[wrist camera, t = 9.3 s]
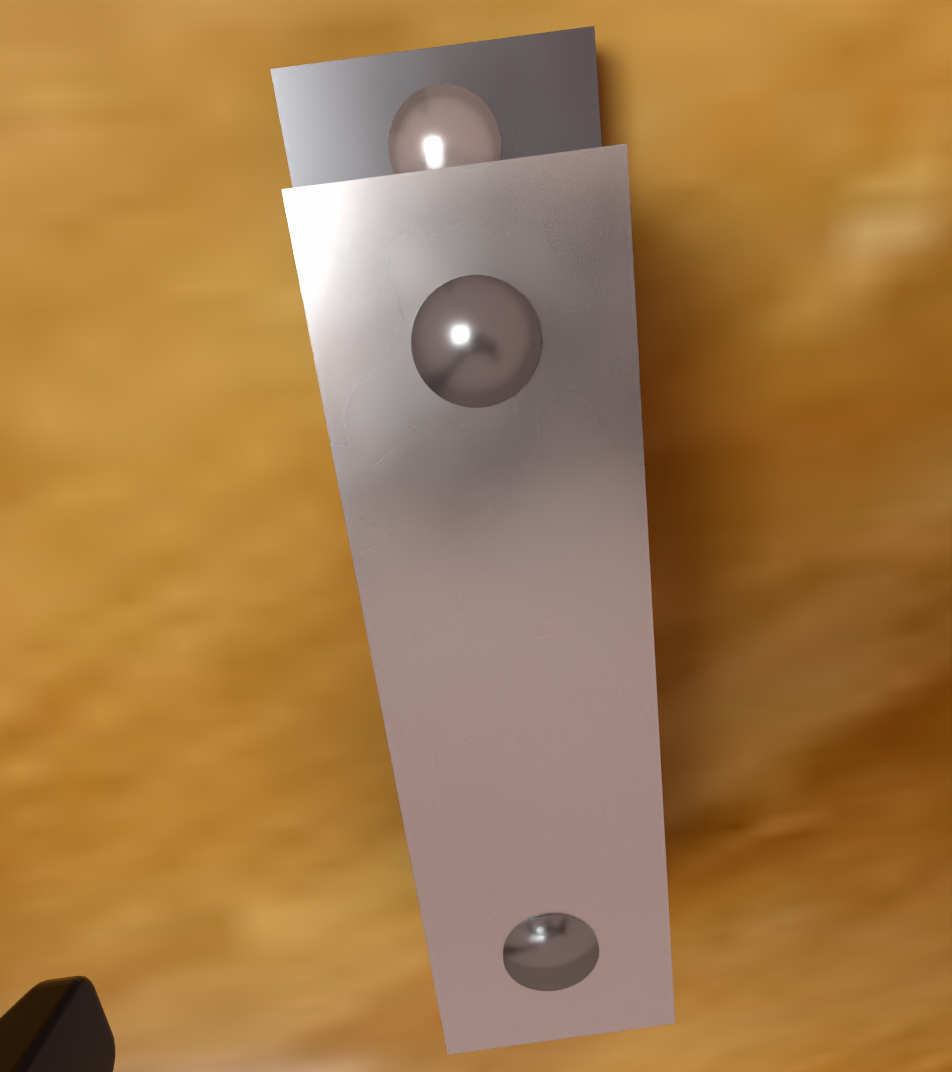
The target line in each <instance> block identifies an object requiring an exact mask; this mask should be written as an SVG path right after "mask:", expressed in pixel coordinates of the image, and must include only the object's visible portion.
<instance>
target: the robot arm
mask: <svg viewBox="0 0 952 1072" xmlns="http://www.w3.org/2000/svg"><path fill="white" fill-rule="evenodd" d="M114 1063H115V1042H114V1037H113V1034H112V1031H111V1029H110V1026H109V1023H108V1021H107V1018H106V1016H105V1013H104V1011H103V1008H102V1005H101V1003H100V1000H99V998H98V995H97V993H96V990H95V987H94V985H93V984H92V982H91V981H90V980H89V979H88V978H87V977H85V976H73V977H66V978H58V979H51V980H46V981H43V982H40V983H39V984H37V985H36V986H34V987H33V988H32V989H31V990H29V991H28V992H27V993H26V994H25V995H24V996H23V997H22V998H21V999H20V1000H19V1001H18V1002H17V1003H16V1004H15V1005H14V1006H12V1007H11V1008H10V1009H9V1010H8V1011H7V1012H6V1013H5V1014H4V1015H3V1016H2V1017H1V1018H0V1072H113V1069H114Z"/></svg>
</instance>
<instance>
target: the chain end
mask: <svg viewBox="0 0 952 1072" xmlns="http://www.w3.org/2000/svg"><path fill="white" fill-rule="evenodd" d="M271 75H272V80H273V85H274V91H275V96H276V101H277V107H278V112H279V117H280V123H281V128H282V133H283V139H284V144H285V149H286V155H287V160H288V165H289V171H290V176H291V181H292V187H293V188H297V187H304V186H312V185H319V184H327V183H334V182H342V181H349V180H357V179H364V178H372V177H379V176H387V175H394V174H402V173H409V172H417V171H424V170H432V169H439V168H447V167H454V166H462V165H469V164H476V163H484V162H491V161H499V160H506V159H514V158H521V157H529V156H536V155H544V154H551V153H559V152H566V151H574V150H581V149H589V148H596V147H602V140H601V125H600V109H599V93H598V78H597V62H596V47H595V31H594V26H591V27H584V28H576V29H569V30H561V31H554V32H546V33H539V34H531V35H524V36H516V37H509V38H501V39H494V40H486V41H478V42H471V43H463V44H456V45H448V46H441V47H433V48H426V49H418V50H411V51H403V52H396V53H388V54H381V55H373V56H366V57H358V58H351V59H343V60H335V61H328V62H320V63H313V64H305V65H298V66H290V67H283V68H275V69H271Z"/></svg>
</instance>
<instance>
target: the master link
mask: <svg viewBox="0 0 952 1072" xmlns="http://www.w3.org/2000/svg"><path fill="white" fill-rule="evenodd" d="M282 194H283V199H284V205H285V210H286V215H287V220H288V225H289V231H290V236H291V241H292V246H293V251H294V257H295V262H296V267H297V272H298V277H299V283H300V288H301V293H302V298H303V303H304V309H305V314H306V319H307V324H308V330H309V335H310V340H311V345H312V350H313V356H314V361H315V366H316V371H317V376H318V382H319V387H320V392H321V397H322V402H323V408H324V413H325V418H326V423H327V428H328V434H329V439H330V444H331V449H332V454H333V460H334V465H335V470H336V475H337V480H338V486H339V491H340V496H341V501H342V506H343V512H344V517H345V522H346V527H347V532H348V538H349V543H350V548H351V553H352V558H353V564H354V569H355V574H356V579H357V584H358V590H359V595H360V600H361V605H362V611H363V616H364V621H365V626H366V631H367V637H368V642H369V647H370V652H371V657H372V663H373V668H374V673H375V678H376V683H377V689H378V694H379V699H380V704H381V709H382V715H383V720H384V725H385V730H386V735H387V741H388V746H389V751H390V756H391V761H392V767H393V772H394V777H395V782H396V787H397V793H398V798H399V803H400V808H401V813H402V819H403V824H404V829H405V834H406V839H407V845H408V850H409V855H410V860H411V865H412V871H413V876H414V881H415V886H416V891H417V897H418V902H419V907H420V912H421V918H422V923H423V928H424V933H425V938H426V944H427V949H428V954H429V959H430V964H431V970H432V975H433V980H434V985H435V990H436V996H437V1001H438V1006H439V1011H440V1016H441V1022H442V1027H443V1032H444V1037H445V1042H446V1048H447V1053H448V1054H455V1053H462V1052H469V1051H477V1050H484V1049H491V1048H499V1047H506V1046H513V1045H521V1044H528V1043H535V1042H543V1041H550V1040H557V1039H564V1038H572V1037H579V1036H586V1035H594V1034H601V1033H608V1032H616V1031H623V1030H630V1029H638V1028H645V1027H652V1026H660V1025H667V1024H674V1023H675V1012H674V994H673V976H672V957H671V939H670V921H669V903H668V884H667V866H666V848H665V830H664V811H663V793H662V775H661V757H660V738H659V720H658V702H657V684H656V665H655V647H654V629H653V611H652V592H651V574H650V556H649V538H648V519H647V501H646V483H645V465H644V446H643V428H642V410H641V392H640V373H639V355H638V337H637V319H636V300H635V282H634V264H633V246H632V227H631V209H630V191H629V173H628V154H627V143H626V144H619V145H611V146H604V147H596V148H589V149H581V150H574V151H566V152H559V153H551V154H544V155H536V156H529V157H521V158H514V159H506V160H499V161H491V162H484V163H476V164H469V165H462V166H454V167H447V168H439V169H432V170H424V171H417V172H409V173H402V174H394V175H387V176H379V177H372V178H364V179H357V180H349V181H342V182H334V183H327V184H319V185H312V186H304V187H297V188H289V189H282Z"/></svg>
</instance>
